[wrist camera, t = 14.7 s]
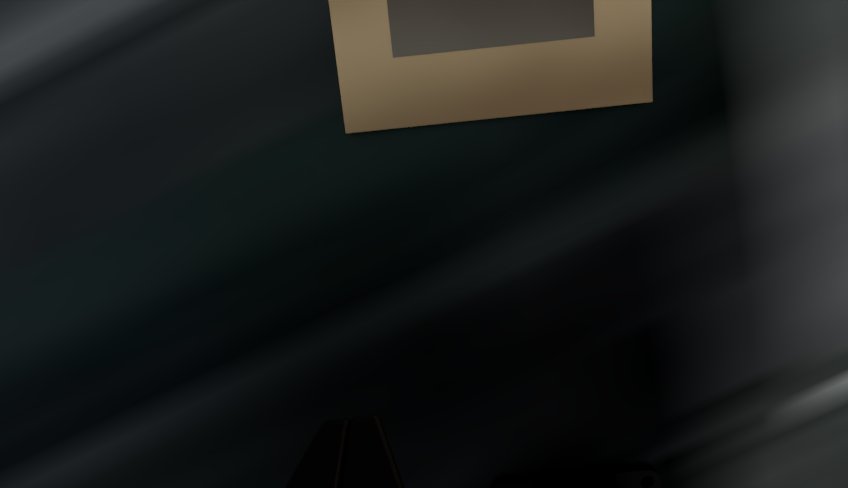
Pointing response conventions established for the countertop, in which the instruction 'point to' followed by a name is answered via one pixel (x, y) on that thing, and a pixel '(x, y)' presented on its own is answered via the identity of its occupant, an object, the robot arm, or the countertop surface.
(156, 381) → the countertop surface
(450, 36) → the domino board
